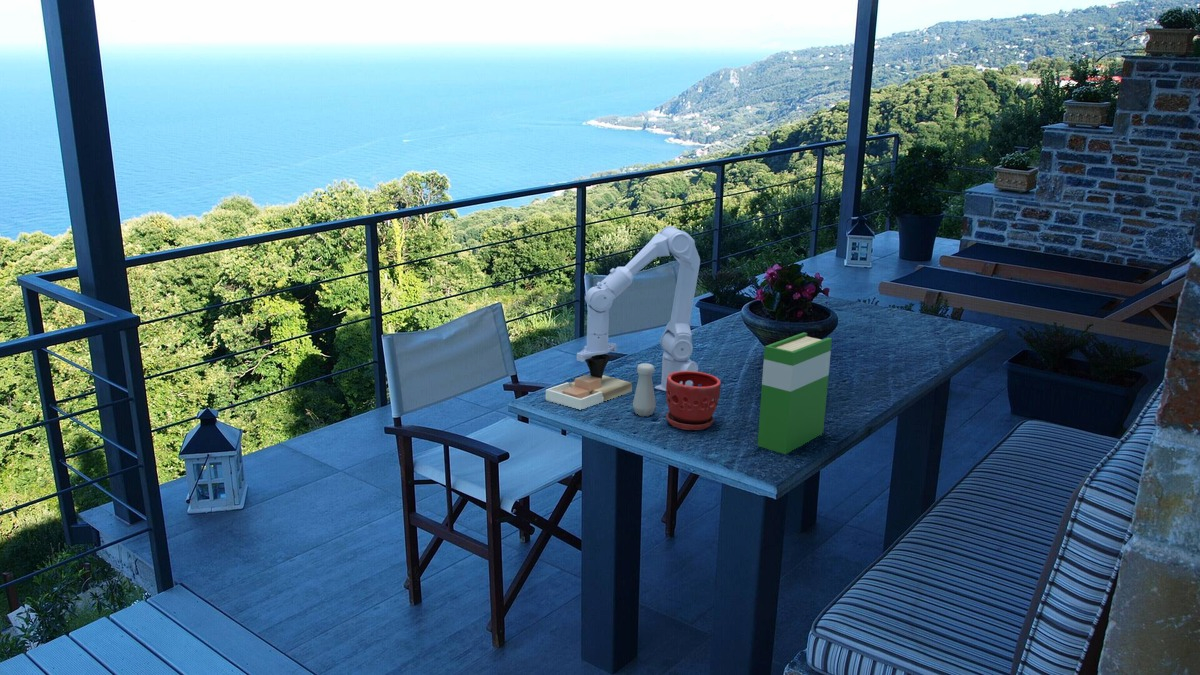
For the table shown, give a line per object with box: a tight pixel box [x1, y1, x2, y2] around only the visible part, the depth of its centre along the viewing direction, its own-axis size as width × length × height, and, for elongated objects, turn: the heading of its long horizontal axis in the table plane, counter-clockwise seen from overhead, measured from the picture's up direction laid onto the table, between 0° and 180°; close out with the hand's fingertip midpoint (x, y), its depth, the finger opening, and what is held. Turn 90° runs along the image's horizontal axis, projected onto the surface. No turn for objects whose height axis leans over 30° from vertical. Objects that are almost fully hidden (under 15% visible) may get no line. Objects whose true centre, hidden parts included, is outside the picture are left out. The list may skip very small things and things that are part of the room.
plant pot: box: [665, 371, 722, 431], centre depth 229 cm, size 13×13×12 cm
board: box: [568, 374, 633, 402], centre depth 252 cm, size 12×12×2 cm
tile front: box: [562, 387, 589, 399], centre depth 245 cm, size 5×5×2 cm
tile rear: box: [574, 374, 601, 392], centre depth 248 cm, size 5×5×2 cm
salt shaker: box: [632, 362, 657, 417], centre depth 235 cm, size 6×6×13 cm
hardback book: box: [757, 332, 833, 455], centre depth 219 cm, size 18×7×24 cm, turn 139°
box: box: [545, 382, 604, 410], centre depth 244 cm, size 12×9×3 cm
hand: (596, 381), depth 251 cm, fingers closed
